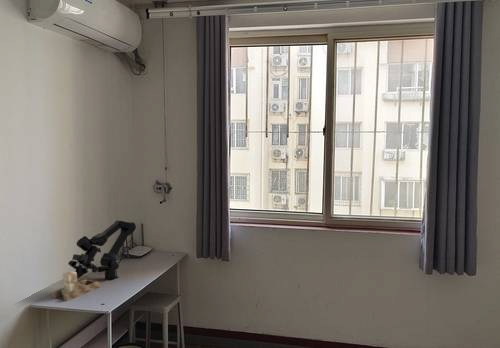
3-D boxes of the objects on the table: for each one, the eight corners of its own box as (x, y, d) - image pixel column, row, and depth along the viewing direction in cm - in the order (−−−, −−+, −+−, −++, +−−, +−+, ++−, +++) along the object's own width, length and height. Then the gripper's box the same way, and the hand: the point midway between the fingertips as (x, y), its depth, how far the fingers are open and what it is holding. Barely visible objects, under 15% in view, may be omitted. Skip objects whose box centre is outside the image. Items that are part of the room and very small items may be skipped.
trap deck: (85, 284, 249) (85, 279, 249) (100, 287, 243) (99, 282, 243) (52, 297, 230) (51, 292, 230) (67, 300, 224) (66, 295, 224)
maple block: (72, 286, 237) (70, 271, 236) (78, 288, 234) (76, 272, 233) (64, 290, 232) (62, 274, 231) (70, 291, 230) (68, 275, 229)
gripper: (69, 246, 243) (54, 270, 234) (91, 249, 234) (76, 275, 225) (82, 256, 251) (67, 280, 242) (104, 259, 241) (89, 284, 233)
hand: (74, 279), depth 235 cm, fingers closed
